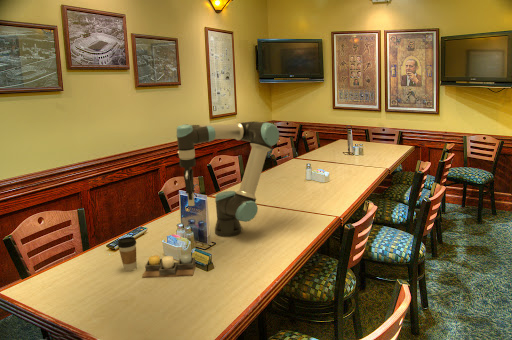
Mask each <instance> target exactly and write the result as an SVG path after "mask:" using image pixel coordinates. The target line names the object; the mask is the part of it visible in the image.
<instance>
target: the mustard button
mask: <svg viewBox="0 0 512 340" xmlns="http://www.w3.org/2000/svg"><path fill="white" fill-rule="evenodd" d="M160 259H161V258H160V256H159V255H151V256H149V257H148V260H149V265H160Z"/></svg>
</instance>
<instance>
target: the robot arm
mask: <svg viewBox="0 0 512 340" xmlns="http://www.w3.org/2000/svg"><path fill="white" fill-rule="evenodd" d="M279 138H280V132H279V129H278V127H277V126H276V125H275V124H274V123H270V122H268V121H267V122H266V121H265V122H263V121H262V122H261V121H246V122H235V123H234V124H185V123H183V124H181V125H178V126H177V127H176V140H177V149H178V151H177V154H178V158H179V161H178V162H179V167H180V168H183V169H184V170H183V179H184V184H185V194H187V203H188V207H194V206H195V194H194V192H196V190H195V187H194V186H195V185H194V169H193V168H192V167H196V165H197V163H196V158H195V157H196V150H195V145H197V144H202V143H203V144H204V143H209V142H213V141H214V140H226V139H229V140H231V139H233V140H236V141H244V142H249V144H250V147H251V150H250V153H249V156H248V160H247V163H246V165H245V166H246V167H245V170H244V173H243V177H242V181H241V183H240V187H239V190H238V191H234V190H227V191H222V192H221V191H220V192H219V193H217V194H216V195H215V198H214V199H215V201H214V202H215V208H216V222H215V226H214V234H215V235H216V236H219V237H228V238H229V237H234V236H237V235H240V234H241V233H242V231H243V228H242V225H241V222H243V223H244V222H245V223H247V222H251V220H253V219H254V218H255V217H256V216H257V214H258V209H259V208H258V204H257V203H256V200H257V197H256V195H255V194H256V191H257V188H258V185H259V181H260V178H261V175H262V171H263V168H264V165H265V162H266V161H265V160H266V158H267V154H268V152H270V151H272V146H274V145H276V144H277V143H278V142H279Z"/></svg>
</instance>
